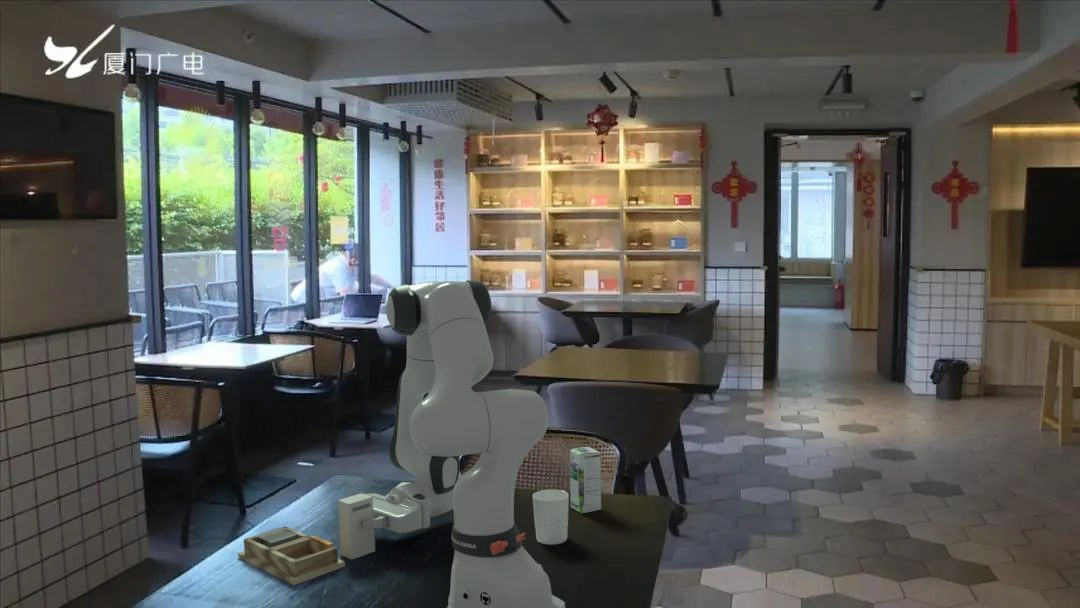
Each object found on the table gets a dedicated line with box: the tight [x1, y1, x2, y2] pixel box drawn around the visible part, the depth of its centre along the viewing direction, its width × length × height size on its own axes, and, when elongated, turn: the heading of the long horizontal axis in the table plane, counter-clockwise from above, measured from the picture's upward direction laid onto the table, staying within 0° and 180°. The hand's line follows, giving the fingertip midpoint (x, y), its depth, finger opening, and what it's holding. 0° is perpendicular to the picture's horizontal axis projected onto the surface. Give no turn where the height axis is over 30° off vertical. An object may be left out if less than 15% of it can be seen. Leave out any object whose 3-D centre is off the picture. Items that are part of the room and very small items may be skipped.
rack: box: [237, 526, 346, 586], centre depth 181 cm, size 22×12×5 cm, turn 47°
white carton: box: [337, 492, 376, 560], centre depth 184 cm, size 4×6×12 cm
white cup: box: [532, 489, 570, 546], centre depth 189 cm, size 8×8×10 cm
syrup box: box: [569, 446, 602, 514], centre depth 208 cm, size 6×6×14 cm
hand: (353, 522), depth 184 cm, fingers open, 5 cm apart
